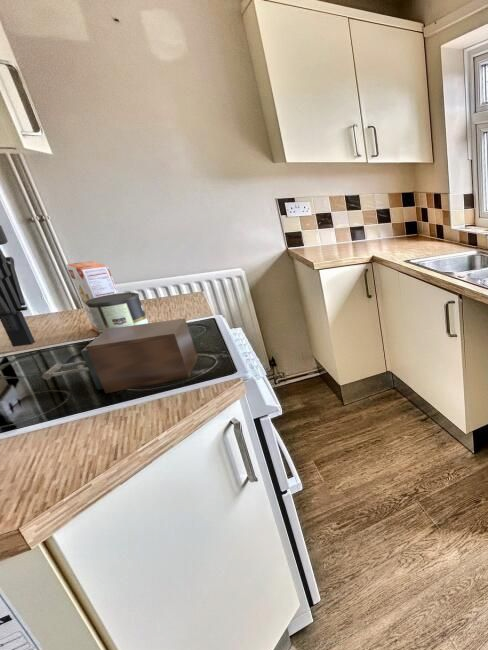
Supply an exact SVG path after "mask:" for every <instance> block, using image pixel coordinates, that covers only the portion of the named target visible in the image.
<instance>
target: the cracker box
mask: <svg viewBox="0 0 488 650" xmlns="http://www.w3.org/2000/svg"><path fill="white" fill-rule="evenodd" d="M65 266H66V268H67V271H68V273H69V275H70V277H71V278H70V279H72V282H73V284H74V287H75V290H76V291H77V294H78V297H79V298H80V301H81V303H82V306H83V307H84V310H85V312H86V315H87V318H88V320H89V322H90V324H91V326H92V330H94V331H95V332H97V333H98V336H99V335H100V334H99V331H98V329H97V326H96V324H95V322H94V319H93V317H92V315H91V312H90V310H89V307H88V305H87V304H86V301H88V300H90V299H93V298H97V297H101V296H106V295H112V294H119V291H118V289H117V287H116V284H115V281H114V278H113V276H112V273H111V271H110V269H109V266H108V265H105V264H102V263H99V262H95V261H91V260H90V261H89V260H88V261H82V262H81V261H80V262H73V263H68V264H66V265H65Z"/></svg>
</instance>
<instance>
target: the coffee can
mask: <svg viewBox="0 0 488 650" xmlns="http://www.w3.org/2000/svg"><path fill="white" fill-rule="evenodd" d="M86 304H87V305H88V307H89V310H90V312H91V315H92V317H93V319H94V322H95V324H96V326H97V329H98V331H99V332H98V335H99V334H102V333H103V332H104V331H105V330H106V329H111V328H118V327H126V326H133V325H140V324H147V323H149V321H148V318H147V315H146V312H145V309H144V307H143V303H142V301H141V299H140V294H139V293H138V292H121V293H120V292H118V294H112V295H106V296H101V297H97V298H93V299H90V300H88V301H86Z"/></svg>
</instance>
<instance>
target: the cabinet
mask: <svg viewBox="0 0 488 650" xmlns="http://www.w3.org/2000/svg"><path fill="white" fill-rule="evenodd" d="M85 347H86V349H87V352H88V354H89V356H90V359H91V361H92V363H93V366H94V368H95V370H96V373H97V375H98V377H99V380H100V382H101V384H102V387H103V389H102V390H103V391H104V393H105V394H110V393H116V392H121V391H126V390H130V389H131V390H132V389H136V388H143V387H146V386H152V385H158V384H163V383H169V382H174V381H179V380H184V379H189V378H190V377H191V375H192V373H193V371H194V368H195V367H196V365H197V362H198V360H199V357H198V353H197V351H196V347H195V344H194V341H193V339H192V334H191V332H190V328H189V325H188V323H187V319H186V318H176V319H170V320H162V321H155V322H148V323H147V324H140V325H133V326H126V327H118V328H111V329H106V330H105V331H104V332H103V333H102V334H100V335H99V334H98V336H97V337H95V338H94V339H93V340H92V341H90V342H89V343H88V344H87V345H86V346H85Z"/></svg>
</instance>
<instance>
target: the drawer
mask: <svg viewBox="0 0 488 650" xmlns="http://www.w3.org/2000/svg"><path fill="white" fill-rule="evenodd" d="M80 353H81V356H82V358H83V360H81V361H77V362H71V363H65V364H64V363H61V362H57V363H56V364H54V365H53V366H52V367H50V368H49V369H48V370H46V371H45V372H44V373H42V375H41V378H42V379H43V380H51V379H52V378H54V377H59V376H64V375H70V374H76V373H77V374H78V373H82V372H89V374H90V377H91V379H92V380H93V383H94V385H95V388H96V390H104V389H103V387H102V384H101V382H100V380H99V377H98V375H97V373H96V370H95V368H94V366H93V363H92V361H91V359H90V356H89V354H88V352H87V349H86V346H85V347H84V348H83V349H82V350H80ZM83 365H86V367H81V368H75V369H69V370H64V371H62V370H63V369H65V368H71V367H77V366H83Z"/></svg>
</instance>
